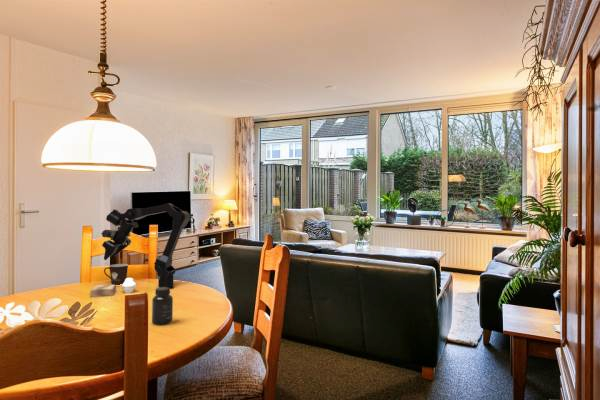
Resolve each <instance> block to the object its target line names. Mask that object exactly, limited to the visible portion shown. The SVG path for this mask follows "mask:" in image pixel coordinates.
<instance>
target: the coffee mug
mask: <svg viewBox="0 0 600 400" xmlns="http://www.w3.org/2000/svg"><path fill="white" fill-rule="evenodd" d="M128 268H129V264H128V263H116V264H115V263H114V264H110V265H108V266H107V267H105V268H104V269H103V273H104V275H106V277H108V279H110V282H111V283H110V285H111V284H112V285H120V284H123V283H124V282H125V279H126V278H128V277H127V276H128ZM107 269H108V270H109V274H107V273H106V270H107Z"/></svg>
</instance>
